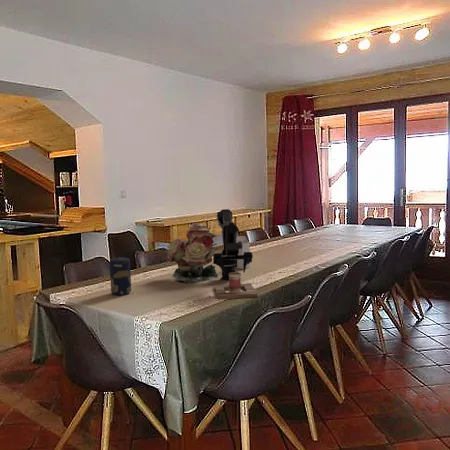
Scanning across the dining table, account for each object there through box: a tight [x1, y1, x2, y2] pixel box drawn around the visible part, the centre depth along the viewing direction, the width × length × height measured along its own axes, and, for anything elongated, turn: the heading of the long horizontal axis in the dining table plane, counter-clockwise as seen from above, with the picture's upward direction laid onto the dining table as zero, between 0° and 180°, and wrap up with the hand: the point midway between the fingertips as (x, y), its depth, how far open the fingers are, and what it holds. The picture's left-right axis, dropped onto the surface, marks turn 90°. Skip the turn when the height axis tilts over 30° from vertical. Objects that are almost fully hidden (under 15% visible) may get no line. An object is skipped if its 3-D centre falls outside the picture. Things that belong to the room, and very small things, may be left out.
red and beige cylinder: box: [228, 271, 242, 292], centre depth 208 cm, size 6×6×9 cm
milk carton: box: [235, 235, 251, 270], centre depth 264 cm, size 7×7×19 cm
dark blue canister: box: [108, 256, 132, 296], centre depth 211 cm, size 10×10×18 cm
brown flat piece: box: [213, 282, 259, 300], centre depth 208 cm, size 20×18×2 cm
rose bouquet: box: [165, 222, 219, 285], centre depth 239 cm, size 26×29×30 cm
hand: (234, 272), depth 208 cm, fingers open, 9 cm apart
